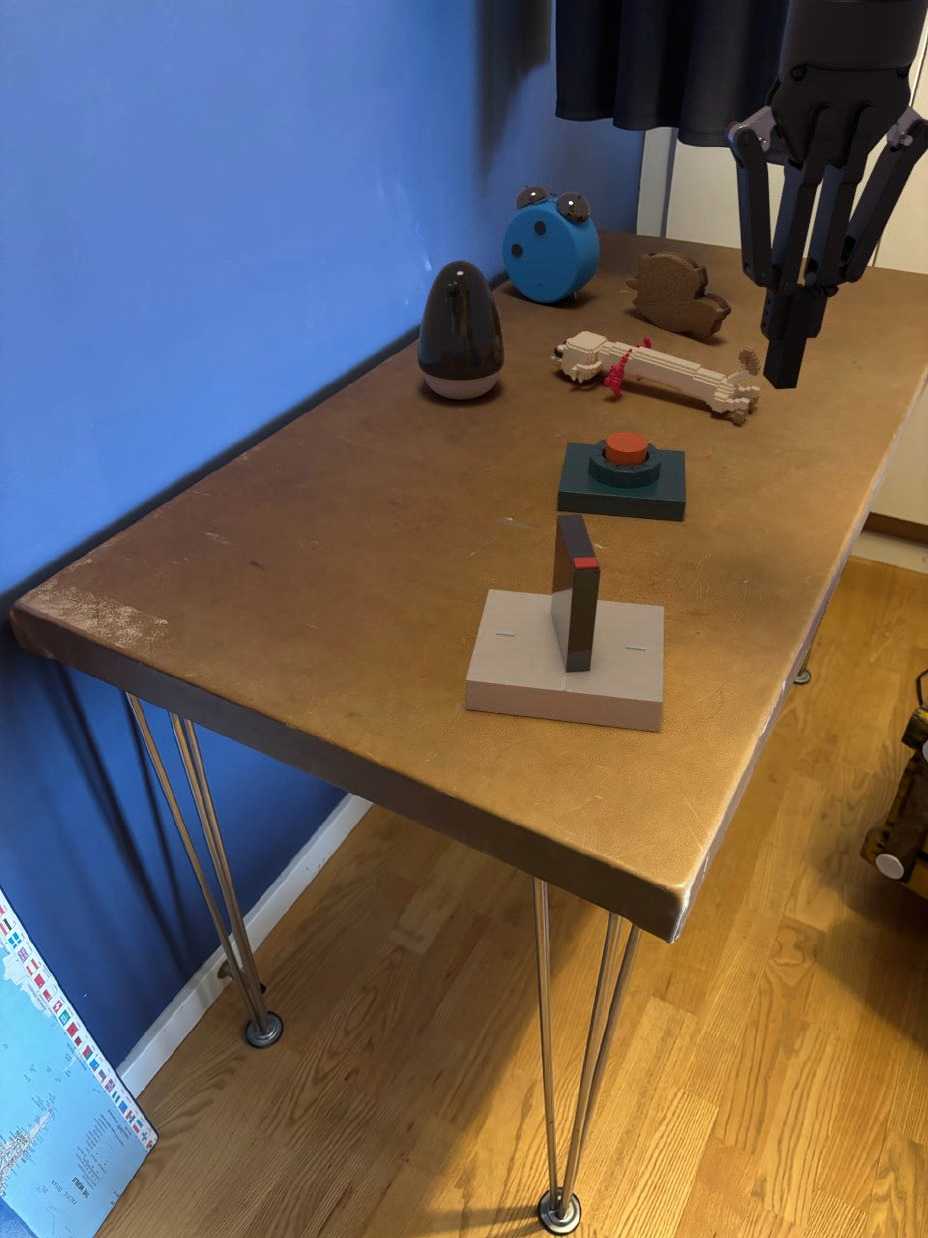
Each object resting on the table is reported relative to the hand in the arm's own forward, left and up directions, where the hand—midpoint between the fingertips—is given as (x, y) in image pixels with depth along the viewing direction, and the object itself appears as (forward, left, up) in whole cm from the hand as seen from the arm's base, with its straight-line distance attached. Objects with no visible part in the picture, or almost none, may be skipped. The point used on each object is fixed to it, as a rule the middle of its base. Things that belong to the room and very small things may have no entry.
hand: (779, 380), depth 66 cm
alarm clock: (+23, -69, -20) cm, 75 cm away
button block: (+10, -16, -19) cm, 27 cm away
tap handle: (+13, +12, -16) cm, 24 cm away
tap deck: (+13, +12, -19) cm, 26 cm away
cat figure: (+8, -39, -20) cm, 44 cm away
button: (+10, -16, -16) cm, 25 cm away
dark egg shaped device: (+30, -36, -20) cm, 51 cm away
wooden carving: (+5, -60, -20) cm, 63 cm away
